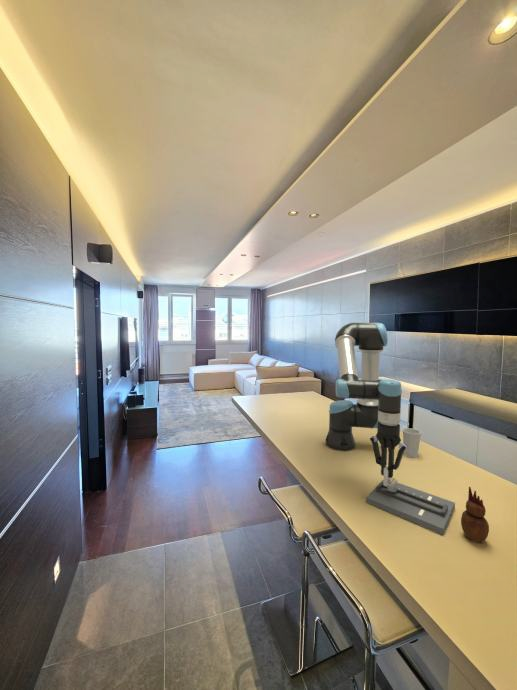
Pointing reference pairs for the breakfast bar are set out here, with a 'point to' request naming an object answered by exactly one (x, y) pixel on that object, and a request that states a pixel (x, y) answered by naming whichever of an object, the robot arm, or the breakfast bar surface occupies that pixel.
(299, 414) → the breakfast bar surface
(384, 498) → the console
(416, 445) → the cup
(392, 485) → the fader
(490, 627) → the breakfast bar surface
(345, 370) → the robot arm
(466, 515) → the wooden figurine
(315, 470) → the breakfast bar surface
